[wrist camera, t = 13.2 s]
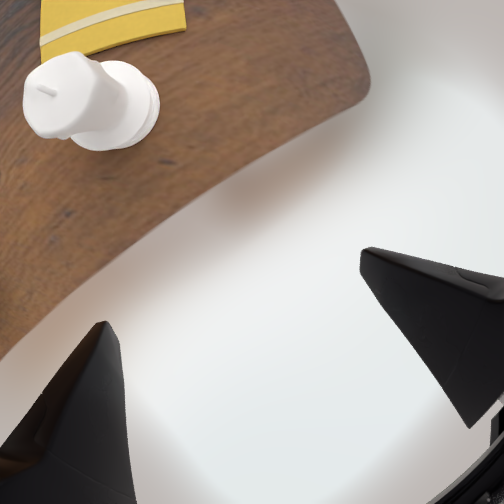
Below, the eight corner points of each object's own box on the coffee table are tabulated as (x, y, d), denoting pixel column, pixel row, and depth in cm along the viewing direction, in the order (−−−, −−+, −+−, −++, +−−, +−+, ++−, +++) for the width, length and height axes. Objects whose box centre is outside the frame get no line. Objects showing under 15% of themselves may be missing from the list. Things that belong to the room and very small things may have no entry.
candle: (68, 126, 14) (-45, 147, 4) (113, 58, 13) (47, -18, 3) (130, 162, 17) (77, 227, 6) (176, 95, 16) (191, 50, 5)
